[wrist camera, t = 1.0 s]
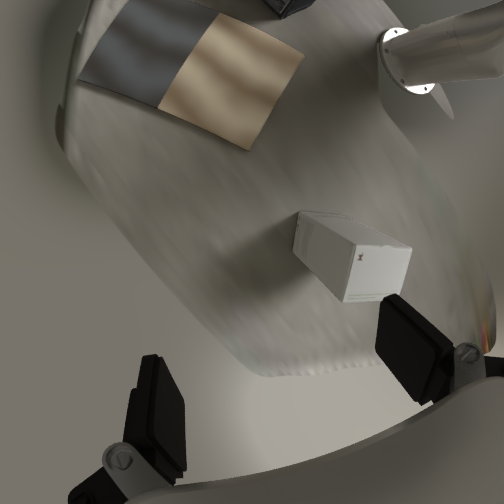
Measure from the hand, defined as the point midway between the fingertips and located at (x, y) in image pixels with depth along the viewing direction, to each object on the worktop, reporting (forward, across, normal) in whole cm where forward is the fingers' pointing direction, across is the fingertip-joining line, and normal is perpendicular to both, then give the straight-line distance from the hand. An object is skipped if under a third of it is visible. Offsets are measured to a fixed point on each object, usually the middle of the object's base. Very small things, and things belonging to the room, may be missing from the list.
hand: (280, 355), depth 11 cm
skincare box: (+29, -13, +6) cm, 32 cm away
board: (+28, +1, -21) cm, 35 cm away
